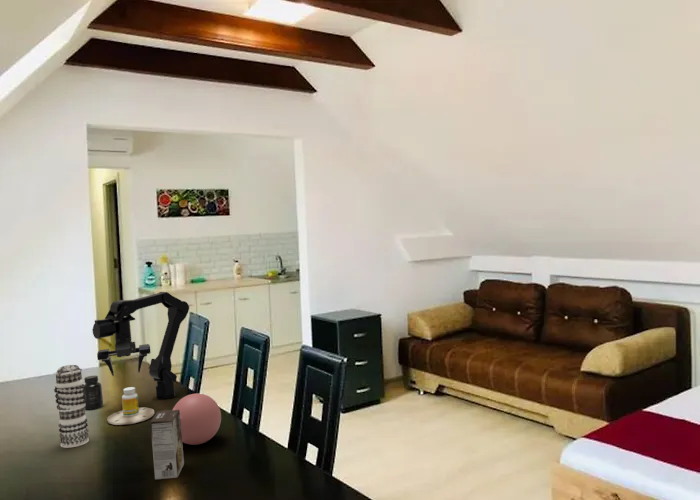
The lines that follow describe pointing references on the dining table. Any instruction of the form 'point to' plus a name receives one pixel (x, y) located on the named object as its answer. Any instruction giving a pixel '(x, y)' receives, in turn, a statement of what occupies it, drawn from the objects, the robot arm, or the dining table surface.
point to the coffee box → (167, 444)
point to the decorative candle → (71, 406)
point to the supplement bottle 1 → (93, 393)
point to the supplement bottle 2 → (130, 402)
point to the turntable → (122, 420)
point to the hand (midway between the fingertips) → (126, 374)
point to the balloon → (198, 418)
